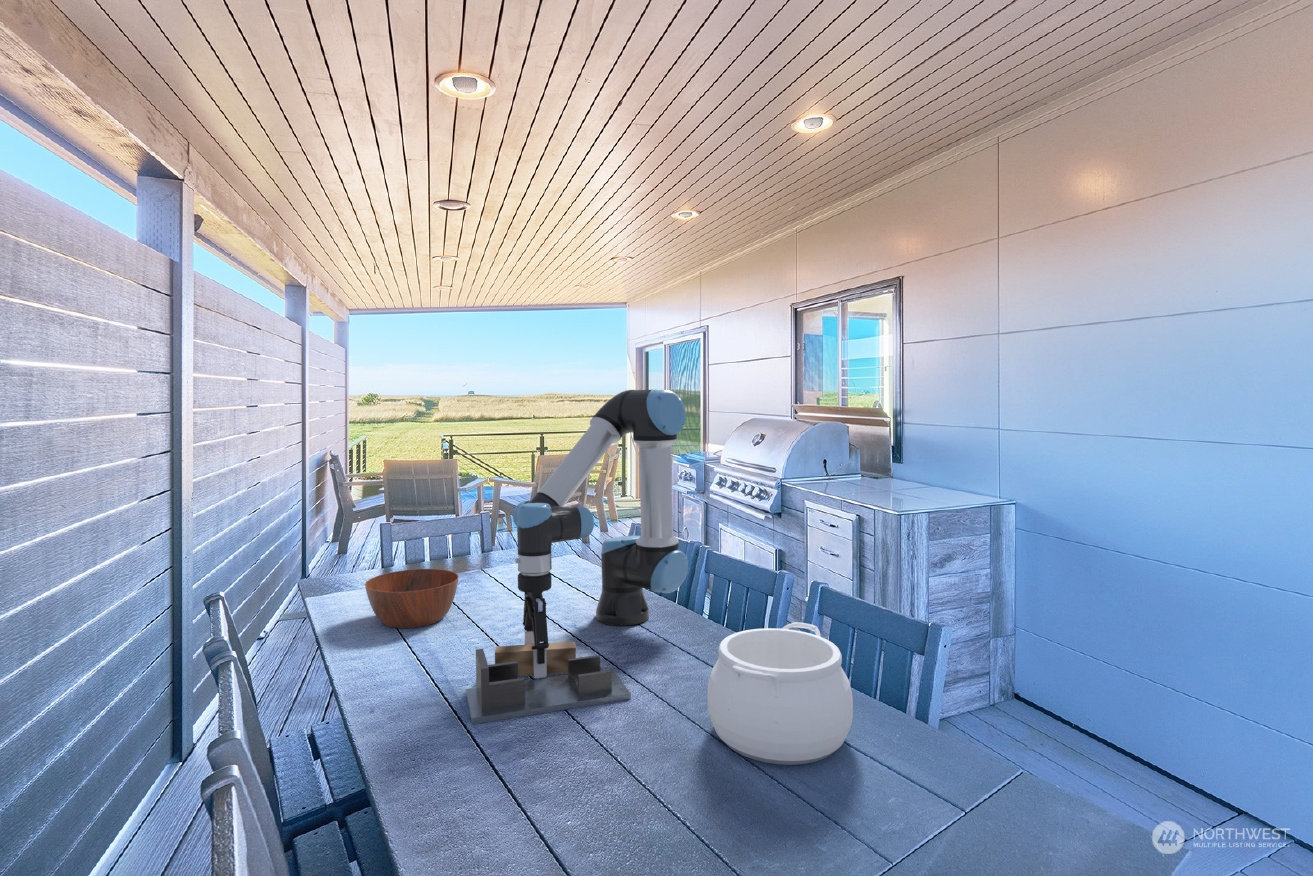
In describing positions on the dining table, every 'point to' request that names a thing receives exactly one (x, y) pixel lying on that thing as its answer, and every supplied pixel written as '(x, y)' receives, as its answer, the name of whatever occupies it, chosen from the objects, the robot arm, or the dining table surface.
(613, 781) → the dining table surface
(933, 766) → the dining table surface
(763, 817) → the dining table surface
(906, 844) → the dining table surface
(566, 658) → the rail
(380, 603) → the bowl
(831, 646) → the pot
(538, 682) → the block fixture
